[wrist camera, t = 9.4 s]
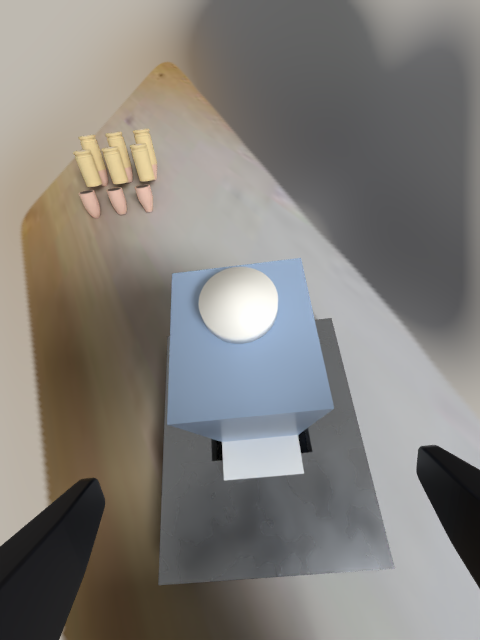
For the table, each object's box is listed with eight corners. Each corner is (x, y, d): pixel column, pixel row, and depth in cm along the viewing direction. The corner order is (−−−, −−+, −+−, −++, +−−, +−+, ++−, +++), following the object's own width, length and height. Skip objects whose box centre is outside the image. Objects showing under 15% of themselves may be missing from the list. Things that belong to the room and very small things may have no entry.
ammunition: (78, 129, 29) (60, 181, 26) (148, 121, 29) (139, 173, 25) (102, 171, 33) (89, 220, 30) (163, 164, 33) (157, 214, 30)
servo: (299, 471, 18) (361, 501, 6) (229, 477, 18) (155, 518, 6) (277, 324, 22) (286, 176, 11) (221, 330, 22) (169, 192, 11)
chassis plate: (380, 555, 16) (394, 568, 14) (170, 571, 16) (158, 585, 14) (326, 329, 22) (331, 318, 20) (175, 345, 22) (167, 336, 21)
